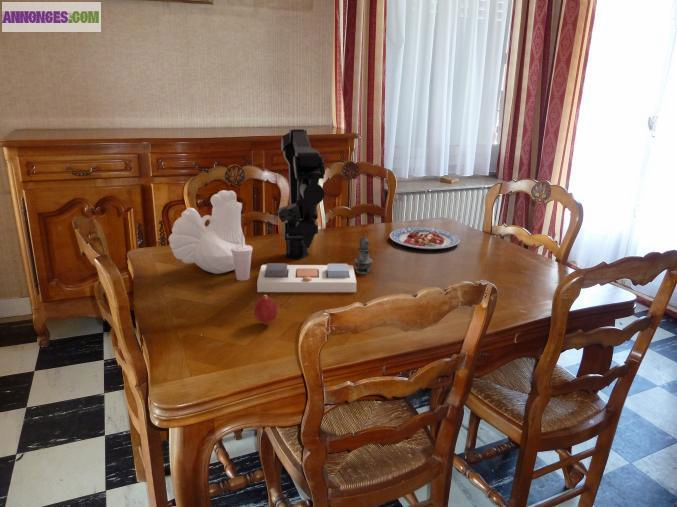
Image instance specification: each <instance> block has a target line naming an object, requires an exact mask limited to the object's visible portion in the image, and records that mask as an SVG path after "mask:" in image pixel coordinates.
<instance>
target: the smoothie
mask: <svg viewBox="0 0 677 507" xmlns="http://www.w3.org/2000/svg"><path fill="white" fill-rule="evenodd" d="M243 235H244V232H243V233H241V242H242V245H236V246H233V247H231V252H232V255H233V260H234V266H235V269H234V272H235V278H236V280H237V281H241V282H242V281H247V280H249V279H250V272H251V265H252V264H251V263H252V262H251V261H252V260H251V259H252V252H253V249H254V248H253V246H252V245H249V244H245V245H243Z"/></svg>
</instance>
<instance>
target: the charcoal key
mask: <svg viewBox="0 0 677 507" xmlns="http://www.w3.org/2000/svg"><path fill="white" fill-rule="evenodd" d="M266 265H267V266H266V270H265V274H266V277H276V278H287V265H288V262H287V263H284V262H283V263H282V262H279V263H278V262H277V263H273V262H270V263H269V262H267V263H266Z"/></svg>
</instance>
